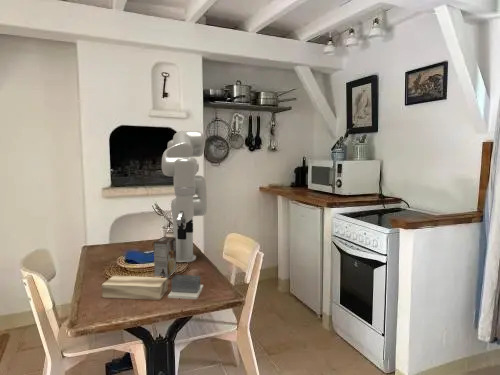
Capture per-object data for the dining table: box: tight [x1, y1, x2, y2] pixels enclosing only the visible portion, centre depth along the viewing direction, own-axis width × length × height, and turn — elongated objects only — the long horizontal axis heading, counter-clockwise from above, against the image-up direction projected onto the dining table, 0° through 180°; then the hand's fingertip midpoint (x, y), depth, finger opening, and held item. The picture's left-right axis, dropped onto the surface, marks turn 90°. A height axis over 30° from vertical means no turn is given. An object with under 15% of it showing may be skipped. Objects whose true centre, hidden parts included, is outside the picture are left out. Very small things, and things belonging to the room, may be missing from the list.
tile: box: [167, 284, 204, 300], centre depth 131 cm, size 11×11×1 cm
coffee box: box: [153, 236, 177, 280], centre depth 148 cm, size 9×6×16 cm
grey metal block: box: [171, 274, 201, 293], centre depth 131 cm, size 5×10×5 cm, turn 85°
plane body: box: [101, 275, 169, 301], centre depth 129 cm, size 9×22×5 cm, turn 85°
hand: (185, 235), depth 129 cm, fingers open, 9 cm apart
